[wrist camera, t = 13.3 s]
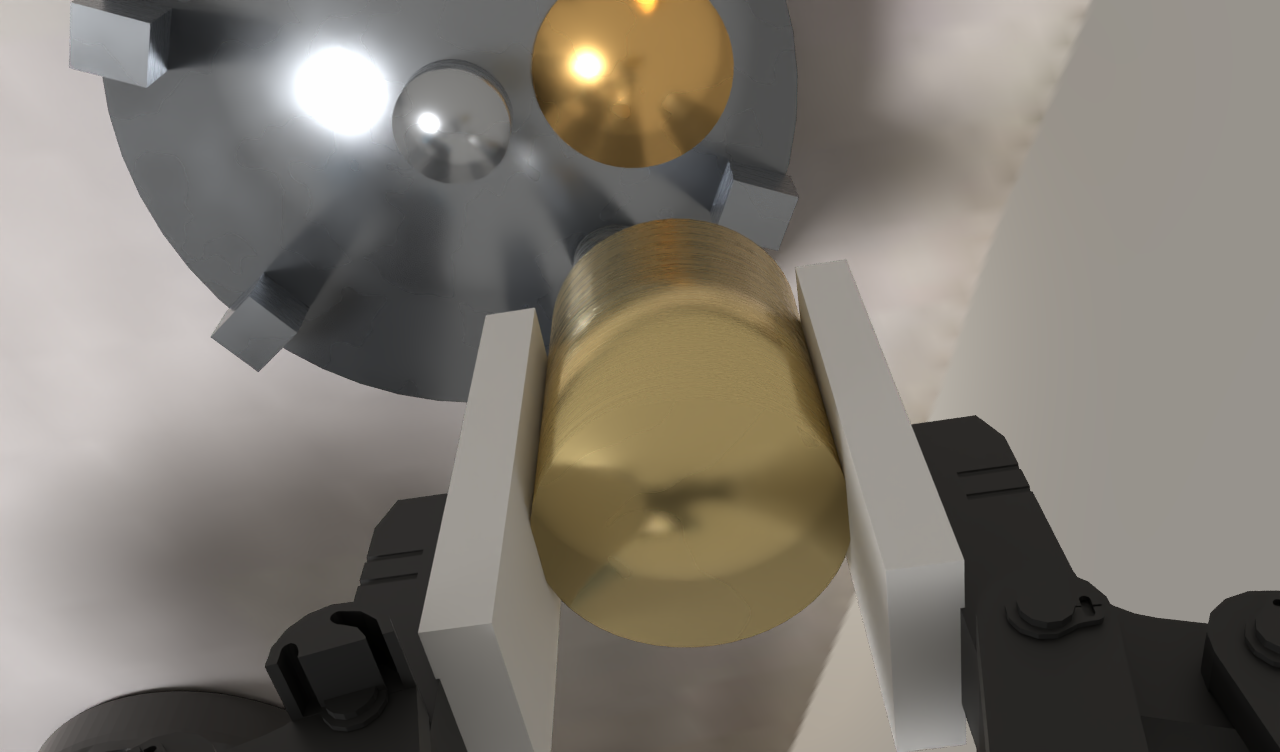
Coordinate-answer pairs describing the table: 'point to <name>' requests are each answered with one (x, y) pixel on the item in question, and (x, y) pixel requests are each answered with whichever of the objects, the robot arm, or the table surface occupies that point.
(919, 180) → the table surface
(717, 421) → the roller
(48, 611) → the table surface
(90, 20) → the dark grey round base
